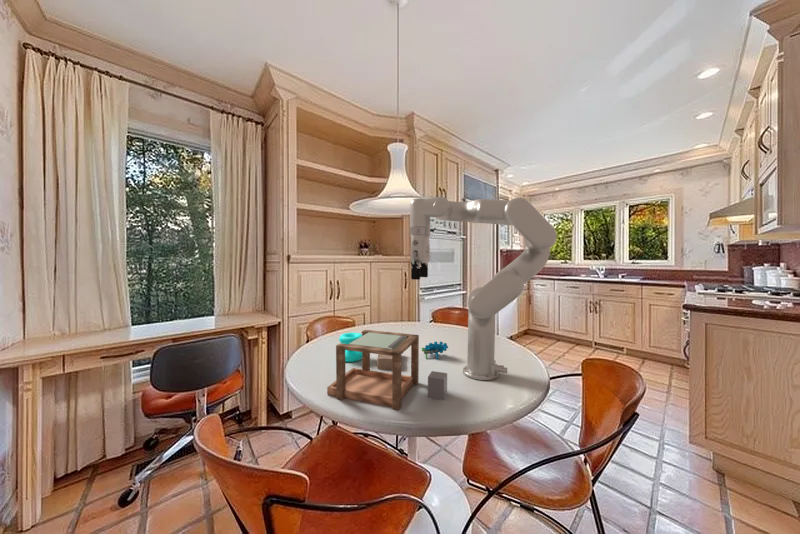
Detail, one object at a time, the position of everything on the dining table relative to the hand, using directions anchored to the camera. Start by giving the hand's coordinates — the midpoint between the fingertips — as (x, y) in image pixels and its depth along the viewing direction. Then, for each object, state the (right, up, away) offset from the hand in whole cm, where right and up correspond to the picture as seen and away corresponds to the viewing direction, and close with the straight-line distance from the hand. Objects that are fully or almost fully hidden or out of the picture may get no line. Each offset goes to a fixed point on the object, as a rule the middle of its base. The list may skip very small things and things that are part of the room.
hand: (419, 278), depth 119 cm
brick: (-12, -35, +9) cm, 38 cm away
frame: (-16, -36, -16) cm, 42 cm away
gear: (+7, -34, +15) cm, 38 cm away
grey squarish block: (+4, -36, -20) cm, 41 cm away
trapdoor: (-14, -20, -18) cm, 30 cm away
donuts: (-28, -34, +12) cm, 46 cm away
